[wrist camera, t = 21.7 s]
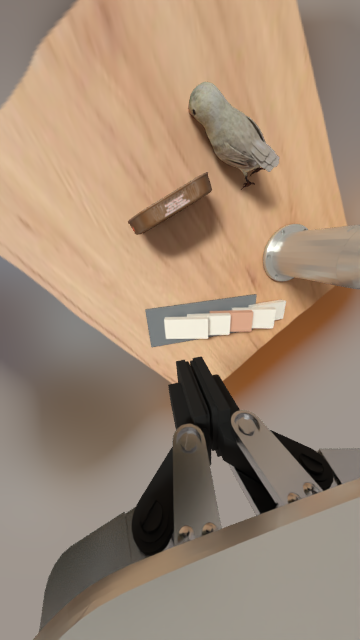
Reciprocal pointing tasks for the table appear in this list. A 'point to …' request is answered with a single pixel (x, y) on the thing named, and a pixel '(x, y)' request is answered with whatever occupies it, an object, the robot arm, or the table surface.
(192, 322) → the tile
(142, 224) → the tin
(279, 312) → the tile
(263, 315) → the tile
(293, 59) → the table surface
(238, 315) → the tile
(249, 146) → the decorative bird
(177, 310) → the slate mat
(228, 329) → the tile
